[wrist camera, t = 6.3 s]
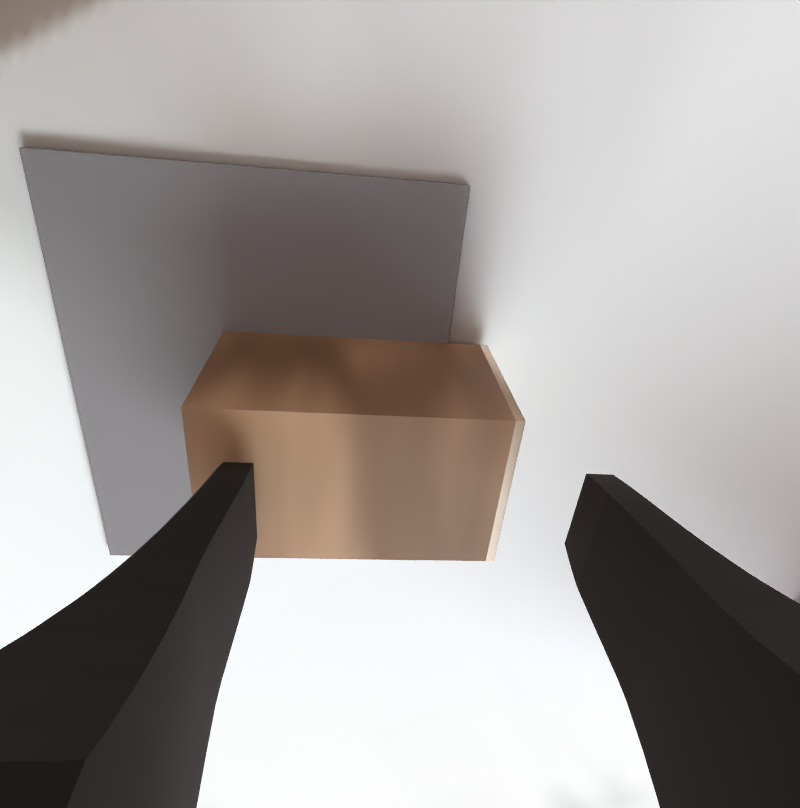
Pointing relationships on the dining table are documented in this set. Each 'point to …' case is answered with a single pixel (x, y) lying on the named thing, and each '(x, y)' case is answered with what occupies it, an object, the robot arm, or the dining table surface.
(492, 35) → the dining table surface
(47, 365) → the dining table surface
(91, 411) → the slate mat
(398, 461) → the walnut block
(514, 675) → the dining table surface
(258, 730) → the dining table surface
